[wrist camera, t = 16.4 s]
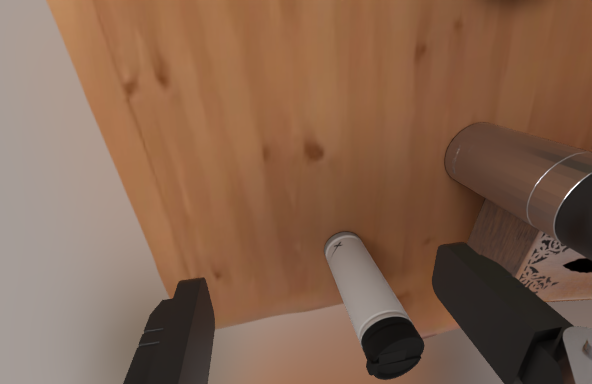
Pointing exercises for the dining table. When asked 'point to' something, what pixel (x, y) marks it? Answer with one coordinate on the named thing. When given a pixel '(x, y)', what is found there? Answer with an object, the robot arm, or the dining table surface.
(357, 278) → the travel mug
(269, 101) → the dining table surface
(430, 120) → the dining table surface
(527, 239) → the tissue box cover
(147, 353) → the robot arm
